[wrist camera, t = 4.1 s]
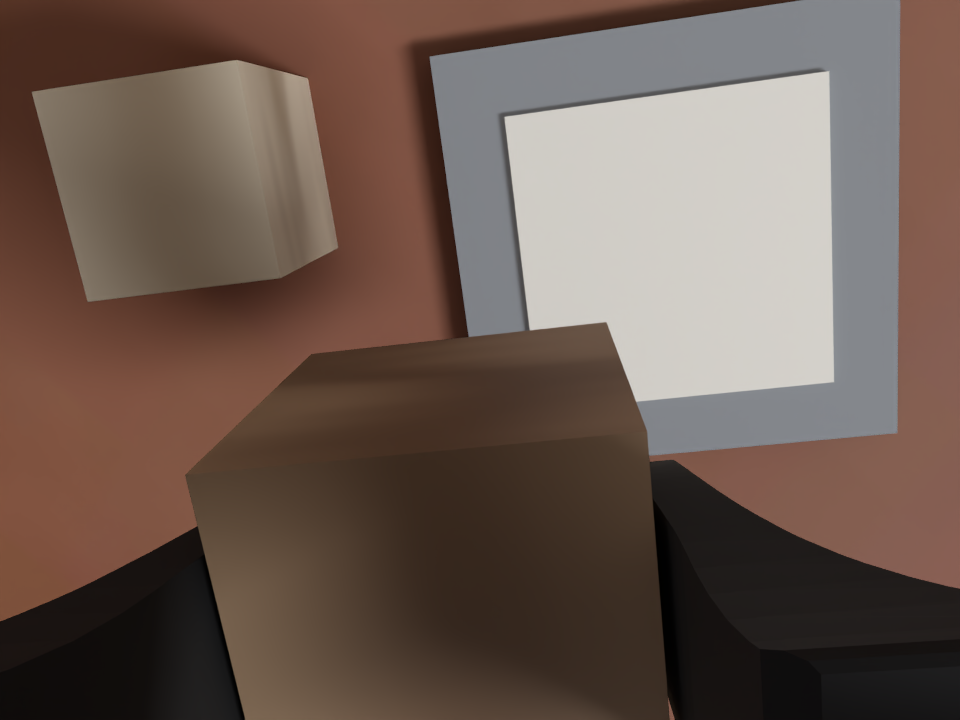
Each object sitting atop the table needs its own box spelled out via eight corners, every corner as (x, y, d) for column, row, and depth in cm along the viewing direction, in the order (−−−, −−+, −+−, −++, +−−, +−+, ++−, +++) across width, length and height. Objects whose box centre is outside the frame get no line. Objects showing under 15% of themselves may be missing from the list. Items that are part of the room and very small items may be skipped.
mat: (489, 460, 21) (487, 472, 20) (433, 59, 18) (428, 55, 17) (886, 423, 20) (899, 435, 19) (887, -10, 17) (903, -17, 16)
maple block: (186, 266, 20) (87, 301, 16) (148, 102, 19) (32, 92, 15) (338, 247, 20) (280, 277, 15) (308, 78, 18) (237, 59, 14)
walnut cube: (360, 610, 15) (275, 839, 10) (311, 354, 13) (184, 474, 9) (630, 590, 14) (677, 822, 9) (606, 322, 13) (647, 430, 8)
